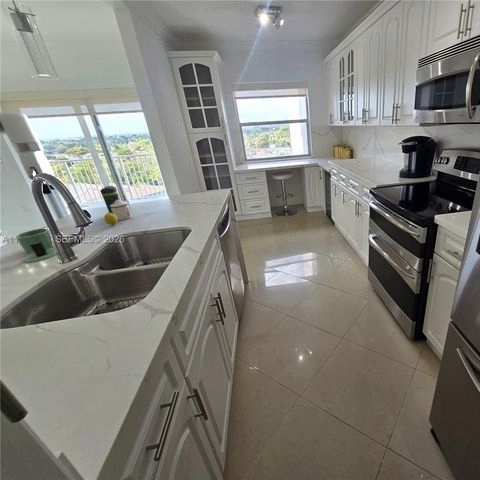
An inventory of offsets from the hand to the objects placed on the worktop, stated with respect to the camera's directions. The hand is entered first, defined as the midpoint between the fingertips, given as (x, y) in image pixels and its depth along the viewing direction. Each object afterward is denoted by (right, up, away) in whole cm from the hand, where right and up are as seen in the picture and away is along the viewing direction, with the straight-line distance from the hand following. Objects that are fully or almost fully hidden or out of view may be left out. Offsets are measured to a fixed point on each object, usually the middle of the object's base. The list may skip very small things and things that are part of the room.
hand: (51, 191), depth 106 cm
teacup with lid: (-12, -6, +56) cm, 57 cm away
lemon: (-9, -12, +43) cm, 45 cm away
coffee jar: (-21, -4, +62) cm, 65 cm away
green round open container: (-24, -24, +19) cm, 39 cm away
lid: (-14, -27, +10) cm, 32 cm away
